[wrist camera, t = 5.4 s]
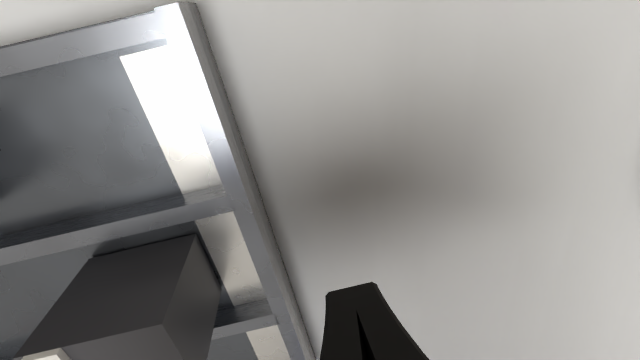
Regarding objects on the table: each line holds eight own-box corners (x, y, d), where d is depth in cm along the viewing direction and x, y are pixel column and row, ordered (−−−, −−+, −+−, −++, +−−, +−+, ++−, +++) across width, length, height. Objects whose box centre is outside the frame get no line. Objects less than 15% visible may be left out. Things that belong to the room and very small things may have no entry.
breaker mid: (196, 233, 12) (159, 330, 9) (221, 289, 14) (199, 394, 10) (89, 258, 12) (6, 365, 9) (125, 311, 14) (66, 425, 10)
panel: (195, 3, 10) (177, 2, 8) (315, 360, 18) (319, 399, 16) (-294, 118, 10) (-415, 141, 8) (38, 424, 18) (11, 470, 16)
